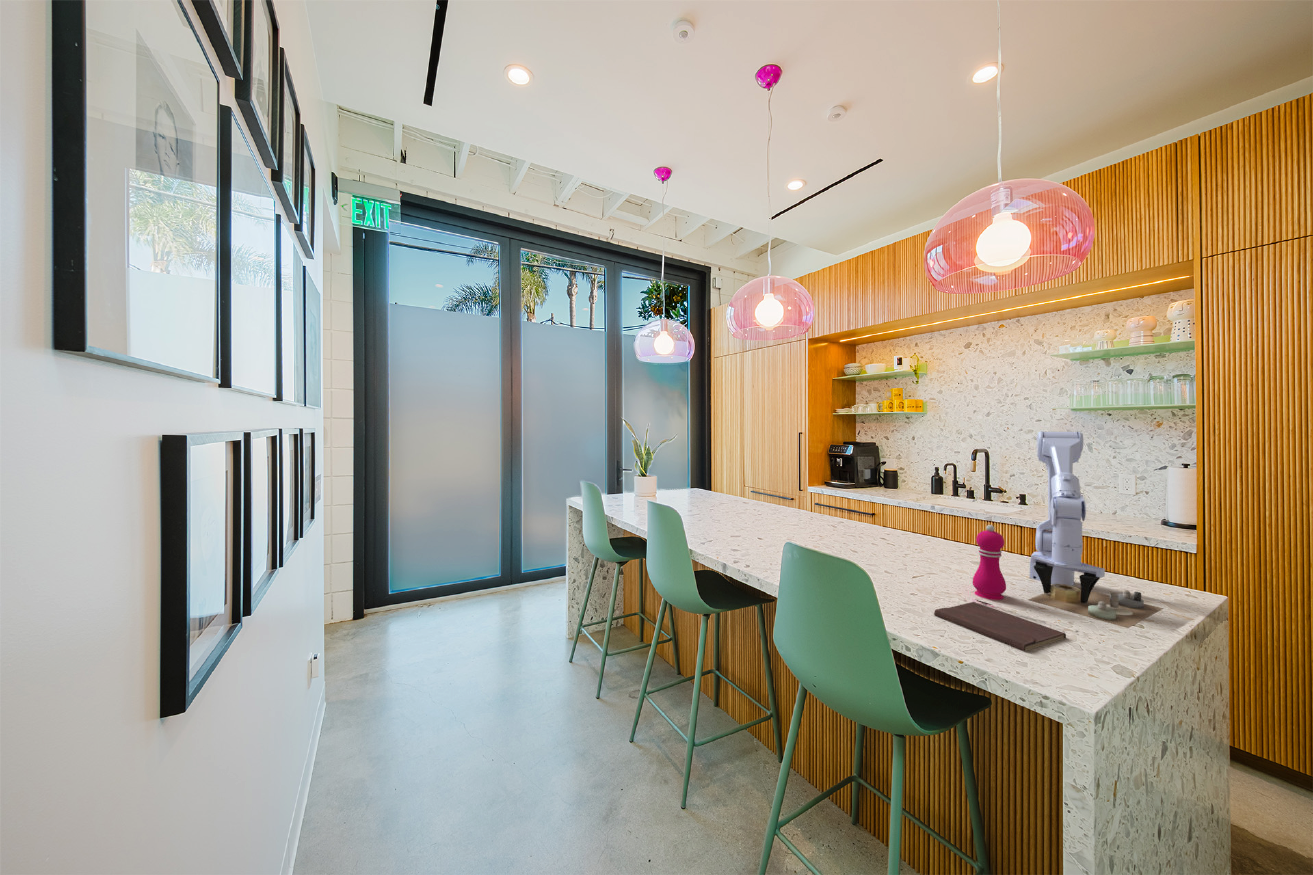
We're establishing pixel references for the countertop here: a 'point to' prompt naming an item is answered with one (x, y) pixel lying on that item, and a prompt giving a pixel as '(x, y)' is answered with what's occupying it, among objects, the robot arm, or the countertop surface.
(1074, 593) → the brass idler gear
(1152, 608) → the board
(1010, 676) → the countertop surface
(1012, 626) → the notebook
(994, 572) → the pepper mill
